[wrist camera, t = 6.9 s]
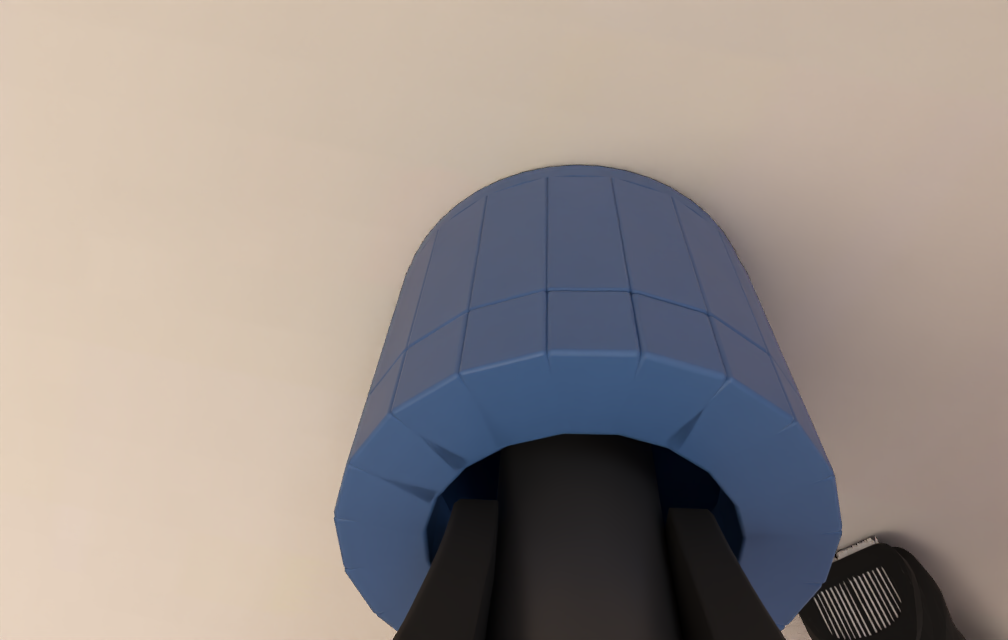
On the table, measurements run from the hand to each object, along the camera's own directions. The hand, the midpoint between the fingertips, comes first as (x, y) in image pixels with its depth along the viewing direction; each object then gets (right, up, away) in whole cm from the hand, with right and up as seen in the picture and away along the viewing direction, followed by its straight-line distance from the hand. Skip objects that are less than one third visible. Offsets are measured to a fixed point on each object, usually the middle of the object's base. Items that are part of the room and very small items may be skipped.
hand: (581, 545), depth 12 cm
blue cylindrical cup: (0, +4, +5) cm, 6 cm away
